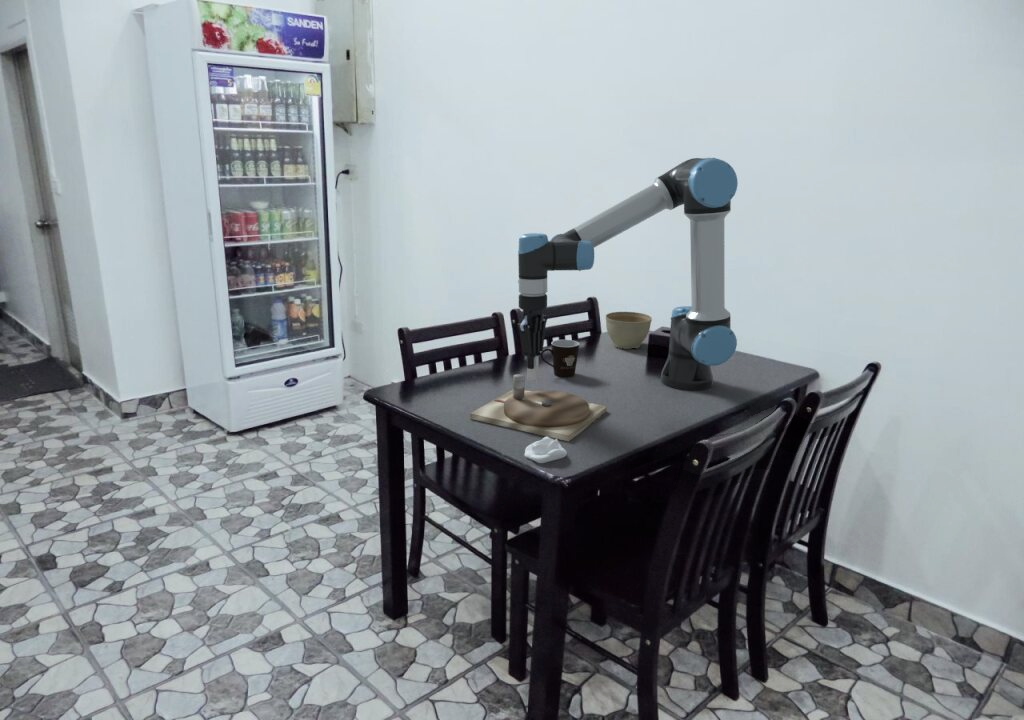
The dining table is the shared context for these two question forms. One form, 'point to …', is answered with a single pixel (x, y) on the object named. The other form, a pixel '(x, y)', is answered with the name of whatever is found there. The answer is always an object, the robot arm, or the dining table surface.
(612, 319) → the planter bowl
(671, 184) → the robot arm
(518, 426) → the dial board
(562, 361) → the coffee mug
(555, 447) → the crumpled white cloth
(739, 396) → the dining table surface
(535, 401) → the wheel
